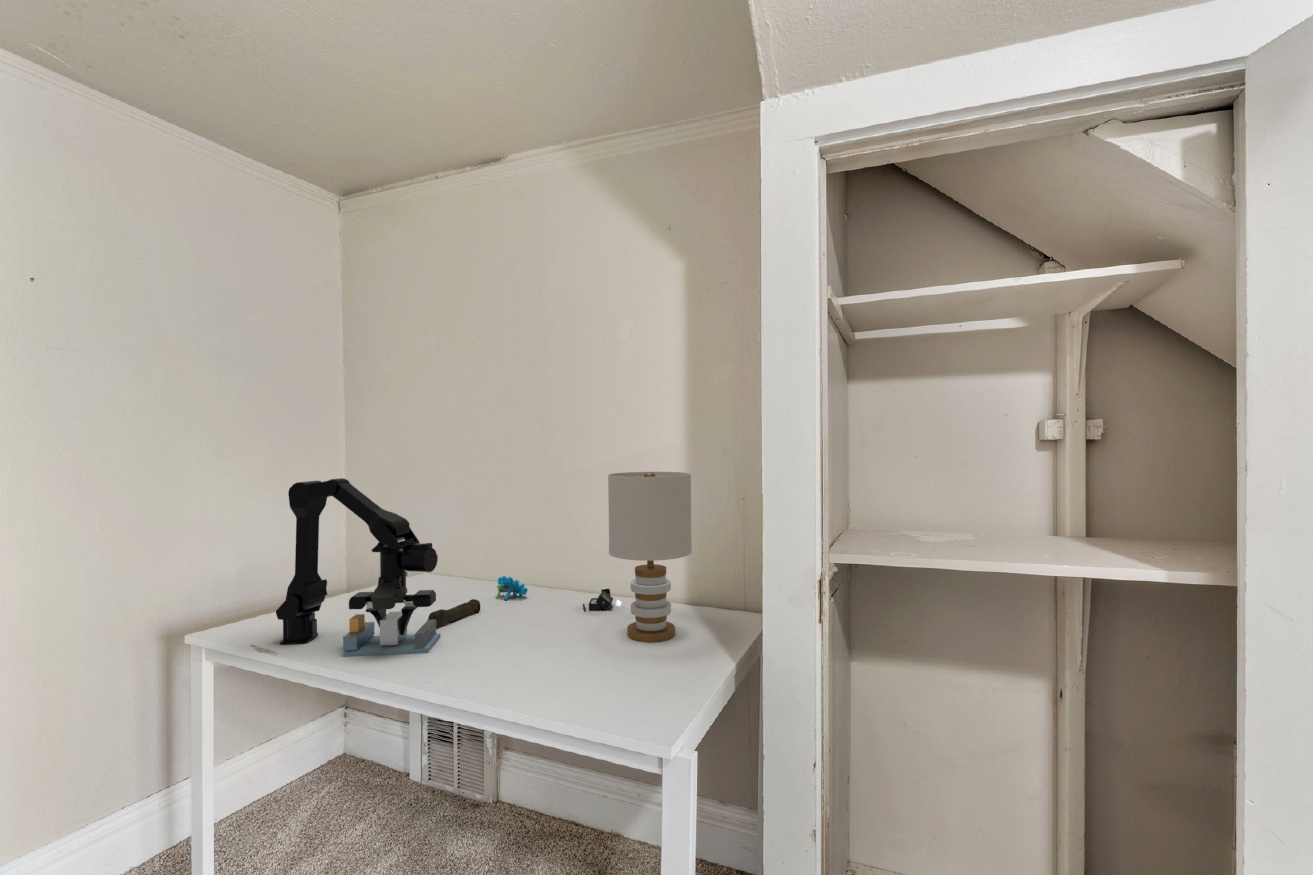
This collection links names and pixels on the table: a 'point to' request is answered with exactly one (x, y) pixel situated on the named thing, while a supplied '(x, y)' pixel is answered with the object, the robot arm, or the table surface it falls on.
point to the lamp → (650, 541)
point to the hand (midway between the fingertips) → (393, 634)
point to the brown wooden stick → (454, 613)
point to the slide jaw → (358, 633)
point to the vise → (401, 643)
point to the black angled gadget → (601, 601)
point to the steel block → (391, 629)
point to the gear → (510, 587)
